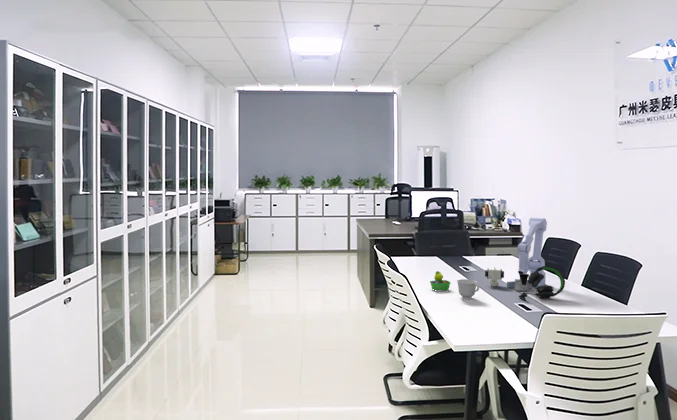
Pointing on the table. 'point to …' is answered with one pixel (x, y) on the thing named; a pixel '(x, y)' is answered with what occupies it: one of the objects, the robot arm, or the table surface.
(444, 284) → the fruit basket
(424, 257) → the table surface
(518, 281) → the angle bracket
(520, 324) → the table surface
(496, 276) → the pneumatic valve
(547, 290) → the headset
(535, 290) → the pad
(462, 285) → the teacup
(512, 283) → the corner walls
